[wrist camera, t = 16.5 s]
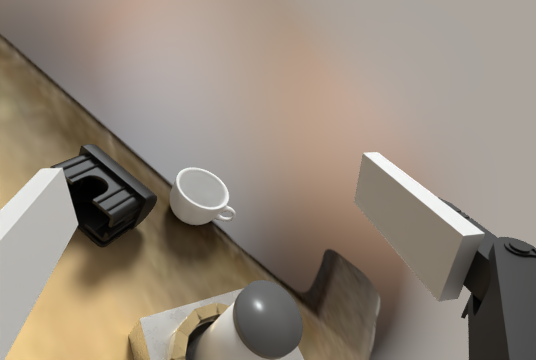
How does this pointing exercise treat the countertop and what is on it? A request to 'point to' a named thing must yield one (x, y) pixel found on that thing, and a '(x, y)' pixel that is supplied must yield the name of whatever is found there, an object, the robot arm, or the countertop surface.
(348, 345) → the countertop surface
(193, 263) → the countertop surface
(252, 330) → the telephoto lens
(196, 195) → the teacup
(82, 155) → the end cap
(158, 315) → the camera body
